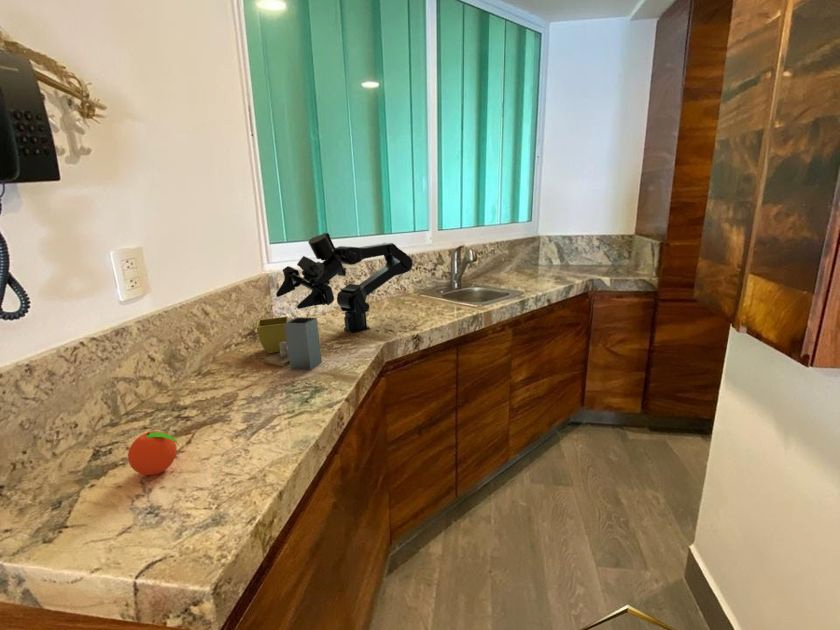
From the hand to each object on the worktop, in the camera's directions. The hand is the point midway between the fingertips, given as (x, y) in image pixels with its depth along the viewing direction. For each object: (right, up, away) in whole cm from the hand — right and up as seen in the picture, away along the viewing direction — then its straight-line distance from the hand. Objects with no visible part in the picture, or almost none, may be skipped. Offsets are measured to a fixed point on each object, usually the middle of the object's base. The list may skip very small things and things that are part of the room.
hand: (287, 301), depth 130 cm
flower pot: (-4, -15, +4) cm, 16 cm away
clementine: (-5, -30, -55) cm, 63 cm away
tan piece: (+1, -16, -5) cm, 17 cm away
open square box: (+8, -17, -10) cm, 22 cm away
